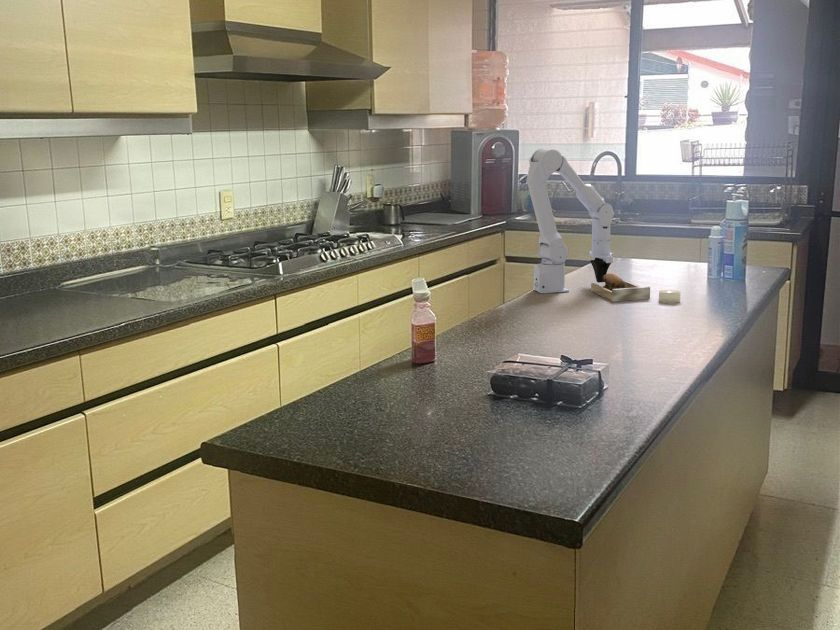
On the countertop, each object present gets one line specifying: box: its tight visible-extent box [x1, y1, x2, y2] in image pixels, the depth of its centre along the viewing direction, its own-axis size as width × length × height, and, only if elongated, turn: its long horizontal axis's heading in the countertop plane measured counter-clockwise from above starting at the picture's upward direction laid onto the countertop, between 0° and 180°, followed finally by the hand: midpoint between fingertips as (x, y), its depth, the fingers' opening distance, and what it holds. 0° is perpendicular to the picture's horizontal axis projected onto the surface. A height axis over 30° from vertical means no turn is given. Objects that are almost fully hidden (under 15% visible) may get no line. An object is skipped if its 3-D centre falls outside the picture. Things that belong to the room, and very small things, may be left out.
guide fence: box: [590, 280, 651, 302], centre depth 260 cm, size 12×17×4 cm
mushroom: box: [602, 273, 625, 291], centre depth 264 cm, size 8×8×6 cm
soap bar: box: [658, 289, 681, 304], centre depth 249 cm, size 6×6×3 cm
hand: (600, 282), depth 274 cm, fingers closed
